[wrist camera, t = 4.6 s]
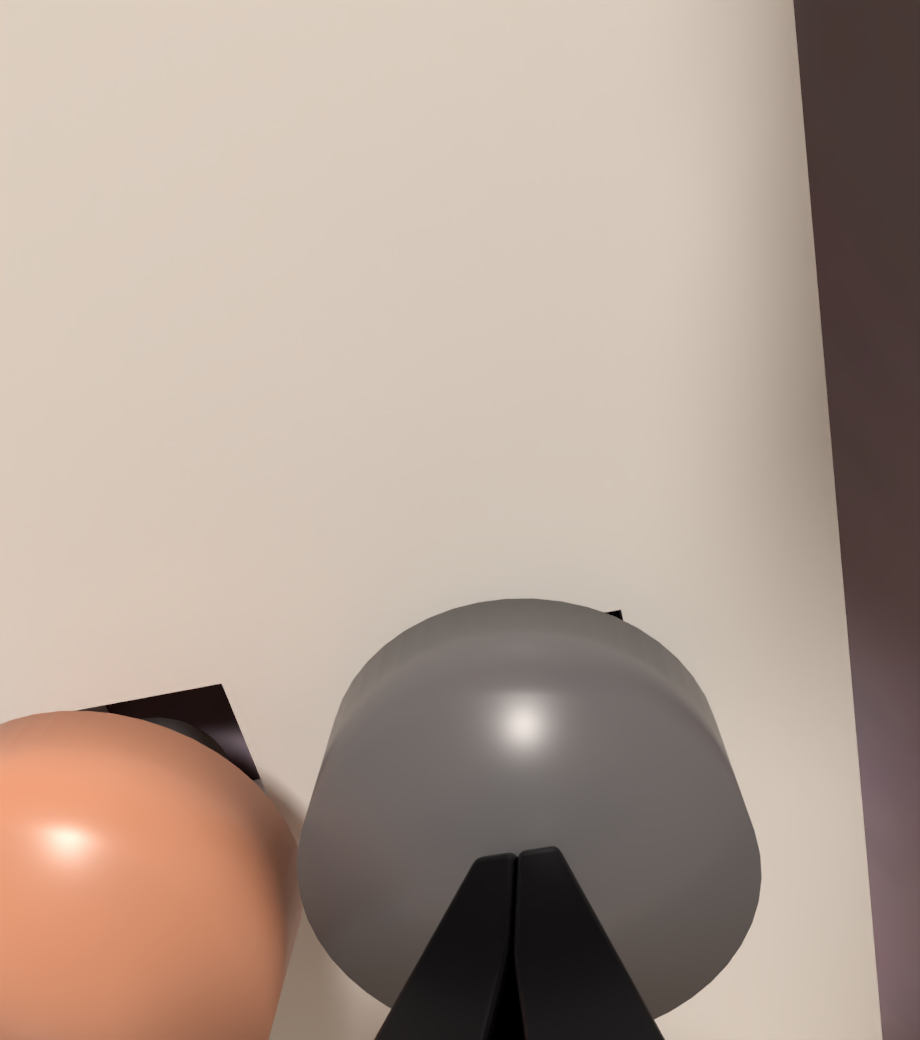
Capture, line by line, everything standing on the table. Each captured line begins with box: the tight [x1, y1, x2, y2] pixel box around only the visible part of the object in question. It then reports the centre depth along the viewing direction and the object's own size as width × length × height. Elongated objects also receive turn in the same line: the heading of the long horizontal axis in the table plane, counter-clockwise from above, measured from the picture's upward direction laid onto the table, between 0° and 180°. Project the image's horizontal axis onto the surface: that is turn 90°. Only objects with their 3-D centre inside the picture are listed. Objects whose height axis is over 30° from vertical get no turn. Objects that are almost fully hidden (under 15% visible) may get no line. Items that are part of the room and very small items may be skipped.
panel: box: [0, 0, 882, 1040], centre depth 13 cm, size 18×20×2 cm
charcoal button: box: [297, 598, 762, 1019], centre depth 10 cm, size 5×5×4 cm
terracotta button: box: [0, 711, 303, 1040], centre depth 11 cm, size 5×5×4 cm
